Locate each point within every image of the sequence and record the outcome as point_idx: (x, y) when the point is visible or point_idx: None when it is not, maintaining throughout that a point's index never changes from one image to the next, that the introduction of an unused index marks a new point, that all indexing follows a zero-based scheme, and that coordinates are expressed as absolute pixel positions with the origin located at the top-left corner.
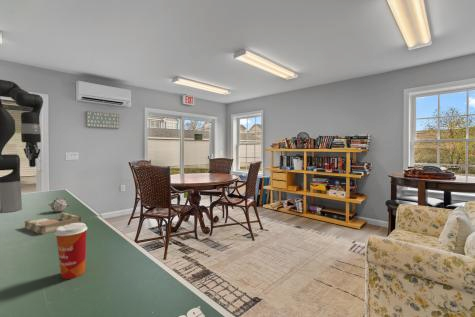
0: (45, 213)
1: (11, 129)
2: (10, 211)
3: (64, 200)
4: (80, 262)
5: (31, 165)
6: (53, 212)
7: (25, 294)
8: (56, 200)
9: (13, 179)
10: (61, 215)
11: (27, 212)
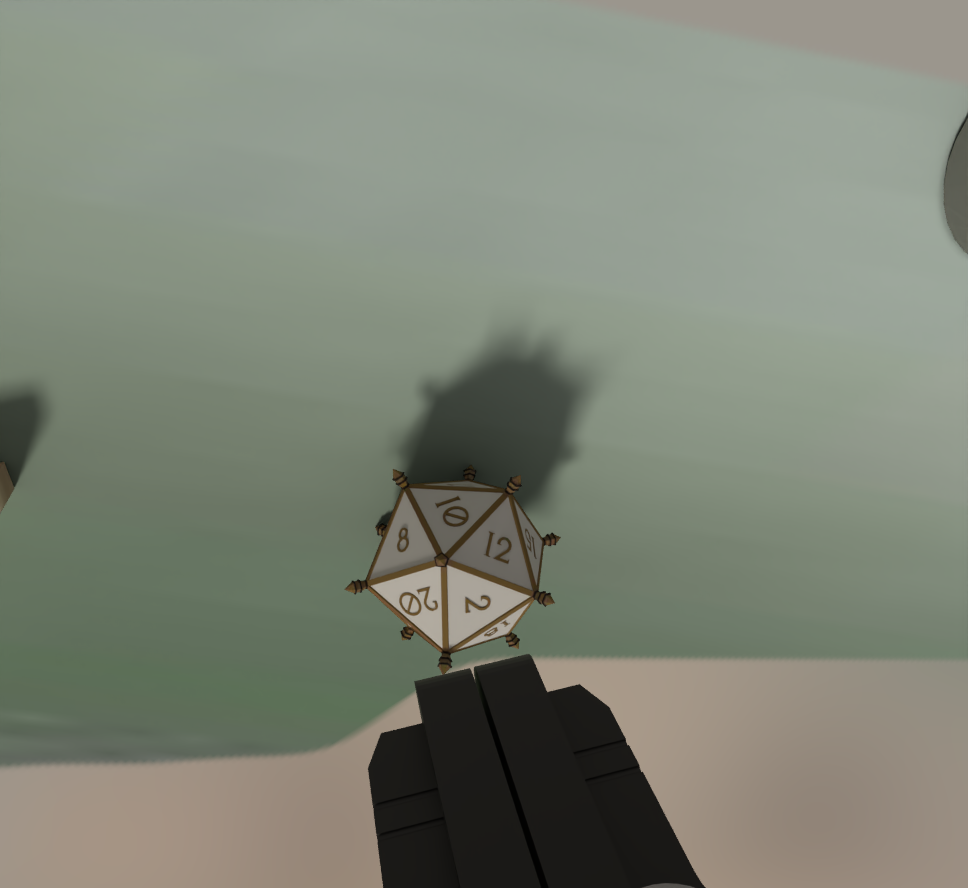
0: (510, 403)
1: None
2: (956, 143)
3: (435, 645)
4: None
5: (424, 734)
6: (467, 471)
7: None
8: (439, 575)
9: None
10: None
11: (752, 273)
